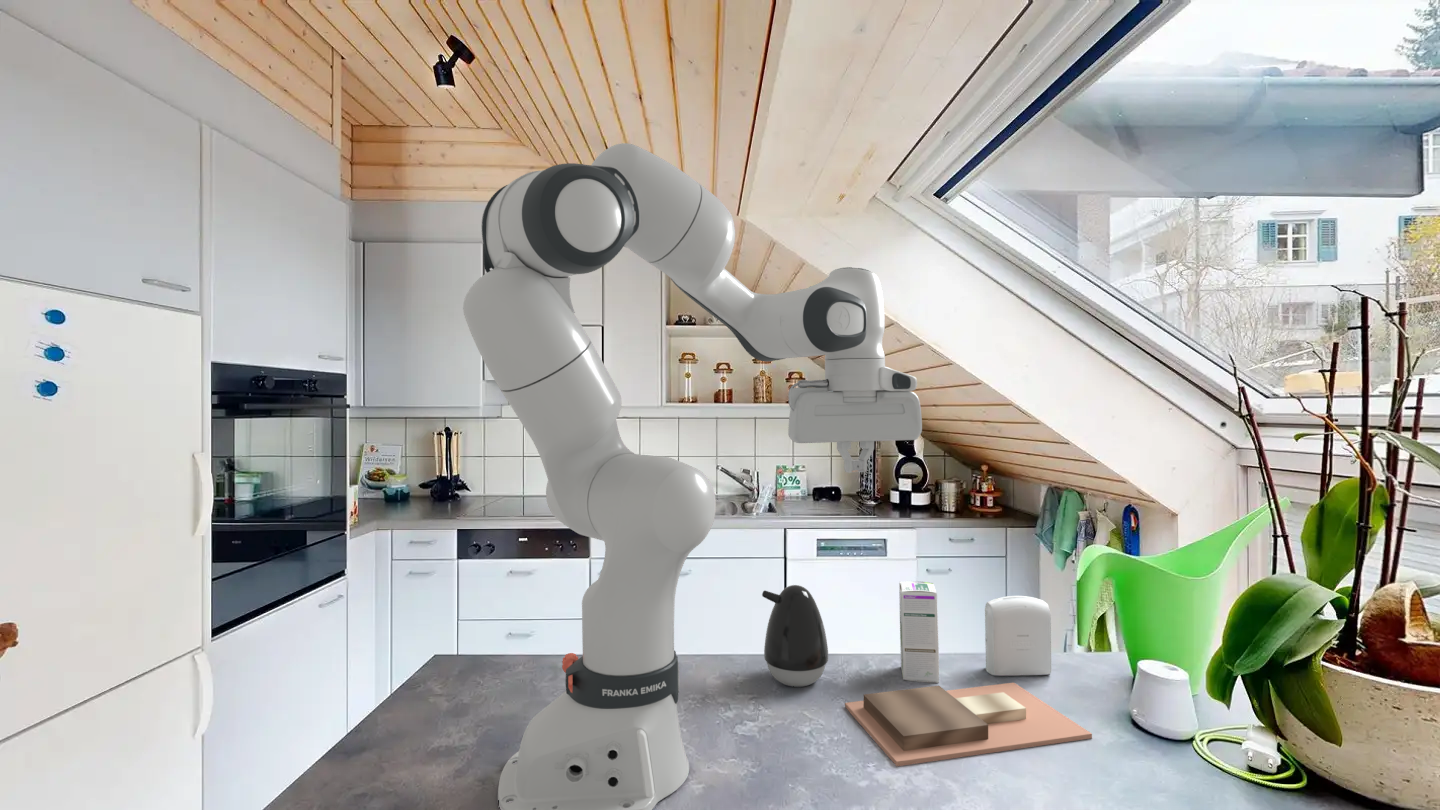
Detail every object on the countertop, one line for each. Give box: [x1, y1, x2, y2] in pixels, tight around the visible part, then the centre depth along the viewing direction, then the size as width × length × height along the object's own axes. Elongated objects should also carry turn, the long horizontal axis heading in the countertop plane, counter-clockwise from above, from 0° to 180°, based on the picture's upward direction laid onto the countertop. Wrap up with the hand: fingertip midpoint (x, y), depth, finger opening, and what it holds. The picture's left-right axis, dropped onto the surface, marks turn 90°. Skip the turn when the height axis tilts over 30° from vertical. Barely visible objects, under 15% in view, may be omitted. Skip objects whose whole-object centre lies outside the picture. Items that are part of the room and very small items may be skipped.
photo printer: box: [984, 595, 1052, 677], centre depth 109 cm, size 10×4×12 cm, turn 89°
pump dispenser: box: [761, 584, 829, 688], centre depth 107 cm, size 10×10×15 cm
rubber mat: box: [844, 682, 1093, 767], centre depth 93 cm, size 28×16×1 cm, turn 102°
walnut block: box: [863, 685, 988, 751], centre depth 92 cm, size 12×12×2 cm
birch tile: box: [955, 692, 1026, 724], centre depth 94 cm, size 8×5×2 cm, turn 102°
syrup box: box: [898, 580, 940, 683], centre depth 109 cm, size 6×6×14 cm
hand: (855, 471), depth 100 cm, fingers closed
